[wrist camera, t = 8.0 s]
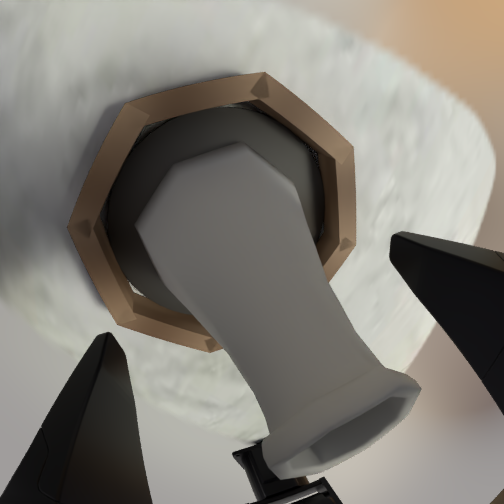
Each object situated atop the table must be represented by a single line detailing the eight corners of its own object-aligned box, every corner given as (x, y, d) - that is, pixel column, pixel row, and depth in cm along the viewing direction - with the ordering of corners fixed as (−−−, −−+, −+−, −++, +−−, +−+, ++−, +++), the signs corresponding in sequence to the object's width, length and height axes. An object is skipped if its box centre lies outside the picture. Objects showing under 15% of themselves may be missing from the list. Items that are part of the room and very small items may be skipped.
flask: (207, 320, 15) (277, 507, 6) (105, 220, 11) (50, 476, 2) (321, 236, 14) (471, 375, 6) (247, 110, 10) (507, 155, 2)
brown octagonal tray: (340, 284, 17) (353, 297, 16) (146, 351, 15) (147, 371, 13) (325, 69, 11) (344, 67, 9) (50, 136, 8) (36, 140, 7)
